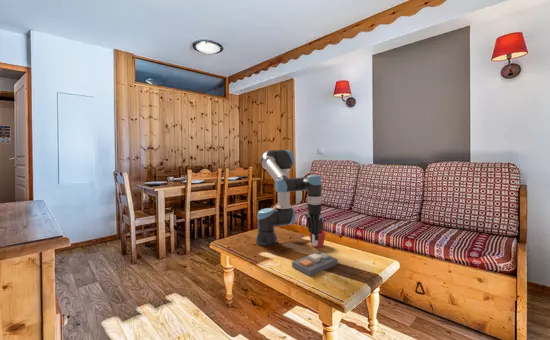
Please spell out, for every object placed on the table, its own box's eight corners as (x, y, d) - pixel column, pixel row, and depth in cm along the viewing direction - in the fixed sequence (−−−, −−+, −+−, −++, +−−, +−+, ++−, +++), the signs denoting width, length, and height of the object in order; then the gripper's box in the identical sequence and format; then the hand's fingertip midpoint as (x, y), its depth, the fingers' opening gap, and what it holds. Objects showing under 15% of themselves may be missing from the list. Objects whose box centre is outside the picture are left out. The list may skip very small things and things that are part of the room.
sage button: (317, 259, 152) (317, 254, 151) (323, 257, 155) (323, 252, 154) (323, 262, 147) (323, 257, 147) (330, 260, 151) (330, 255, 150)
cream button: (308, 260, 147) (308, 255, 147) (314, 258, 150) (314, 253, 150) (315, 263, 143) (315, 258, 143) (321, 261, 146) (321, 256, 146)
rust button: (299, 266, 143) (299, 261, 143) (306, 264, 146) (306, 259, 146) (306, 270, 139) (305, 264, 139) (312, 267, 142) (312, 262, 142)
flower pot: (307, 243, 181) (307, 229, 181) (323, 242, 182) (323, 228, 182) (311, 249, 171) (310, 234, 170) (327, 248, 172) (327, 233, 171)
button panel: (292, 266, 146) (292, 261, 146) (319, 256, 159) (319, 251, 159) (310, 276, 135) (310, 270, 134) (337, 264, 148) (337, 258, 148)
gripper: (301, 202, 147) (301, 243, 149) (318, 206, 137) (319, 250, 138) (310, 200, 151) (311, 240, 153) (328, 204, 141) (328, 247, 143)
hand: (314, 245), depth 146 cm, fingers closed
